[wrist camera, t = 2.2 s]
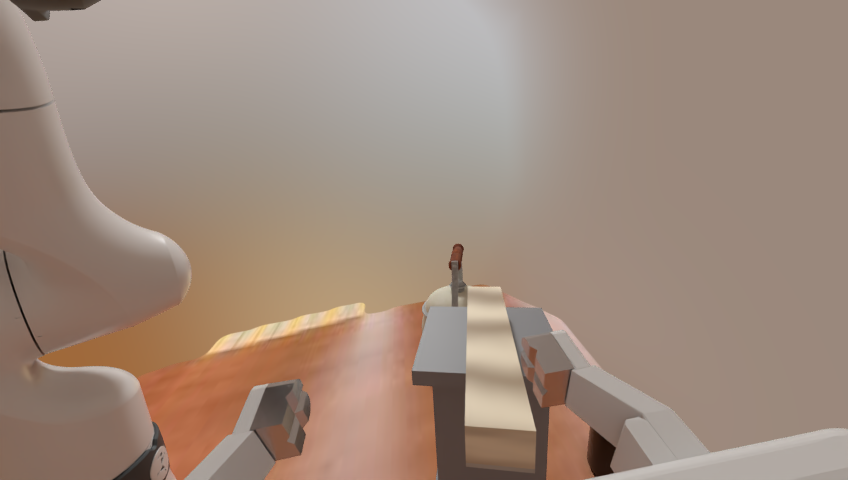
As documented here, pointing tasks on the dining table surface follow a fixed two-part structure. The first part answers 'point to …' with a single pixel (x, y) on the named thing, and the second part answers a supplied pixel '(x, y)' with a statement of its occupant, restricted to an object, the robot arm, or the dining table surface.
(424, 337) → the tool stand
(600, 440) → the supplement bottle
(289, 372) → the dining table surface
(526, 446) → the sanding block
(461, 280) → the kettle
